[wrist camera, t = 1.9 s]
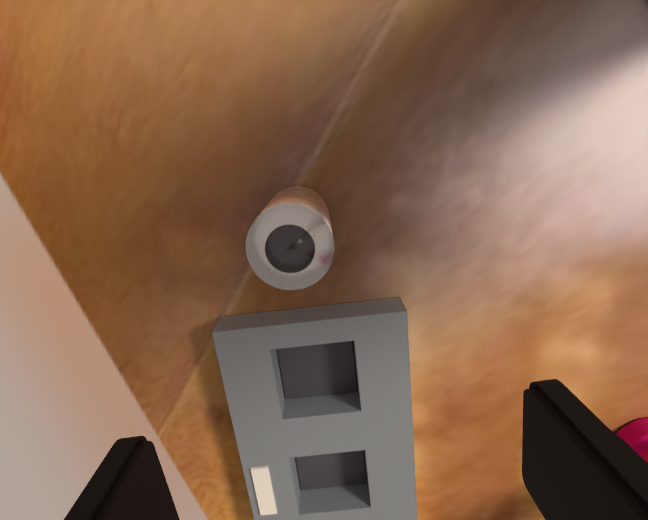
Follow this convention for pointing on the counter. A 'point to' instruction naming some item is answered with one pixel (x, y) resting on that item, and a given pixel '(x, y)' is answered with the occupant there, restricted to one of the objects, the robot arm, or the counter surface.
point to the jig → (322, 410)
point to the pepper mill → (636, 436)
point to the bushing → (291, 240)
